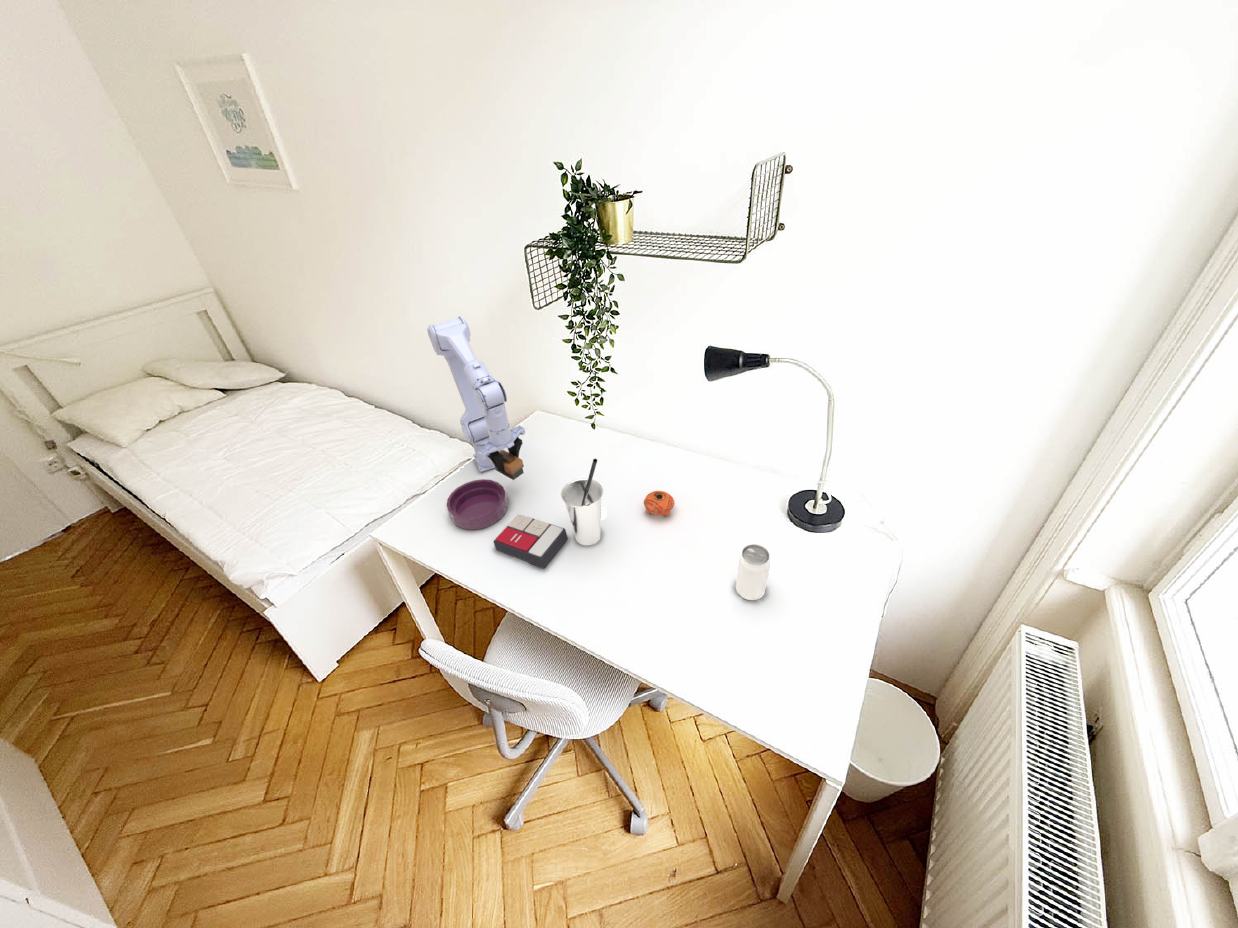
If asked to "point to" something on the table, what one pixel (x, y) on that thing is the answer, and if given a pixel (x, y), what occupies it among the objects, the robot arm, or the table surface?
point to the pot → (659, 503)
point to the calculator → (531, 540)
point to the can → (752, 572)
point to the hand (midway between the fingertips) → (508, 466)
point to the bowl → (477, 504)
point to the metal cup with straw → (584, 507)
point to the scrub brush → (511, 465)
